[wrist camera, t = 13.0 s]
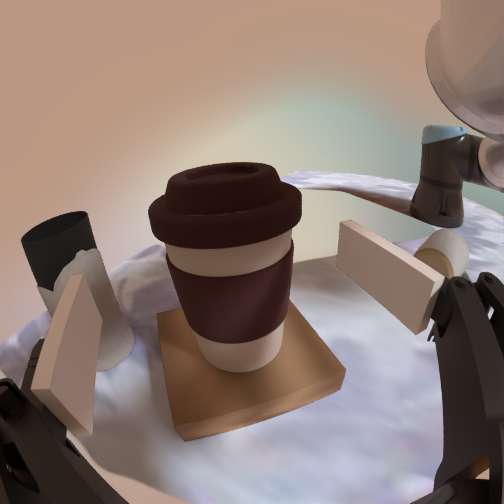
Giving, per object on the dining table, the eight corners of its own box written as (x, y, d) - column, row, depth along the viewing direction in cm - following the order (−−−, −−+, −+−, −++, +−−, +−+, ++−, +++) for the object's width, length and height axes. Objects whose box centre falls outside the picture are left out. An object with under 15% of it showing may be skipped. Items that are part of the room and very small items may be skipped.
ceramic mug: (401, 286, 34) (413, 236, 30) (422, 265, 38) (432, 221, 34) (463, 319, 26) (484, 268, 23) (475, 292, 30) (491, 246, 27)
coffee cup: (203, 306, 29) (178, 163, 22) (297, 310, 27) (299, 156, 20) (171, 379, 20) (111, 198, 13) (295, 391, 19) (305, 188, 12)
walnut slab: (277, 304, 33) (277, 284, 32) (340, 389, 21) (346, 369, 20) (163, 333, 29) (156, 313, 28) (184, 441, 17) (174, 426, 16)
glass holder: (102, 383, 22) (34, 251, 15) (41, 339, 27) (-6, 238, 20) (149, 332, 29) (111, 208, 23) (81, 304, 34) (47, 208, 27)
